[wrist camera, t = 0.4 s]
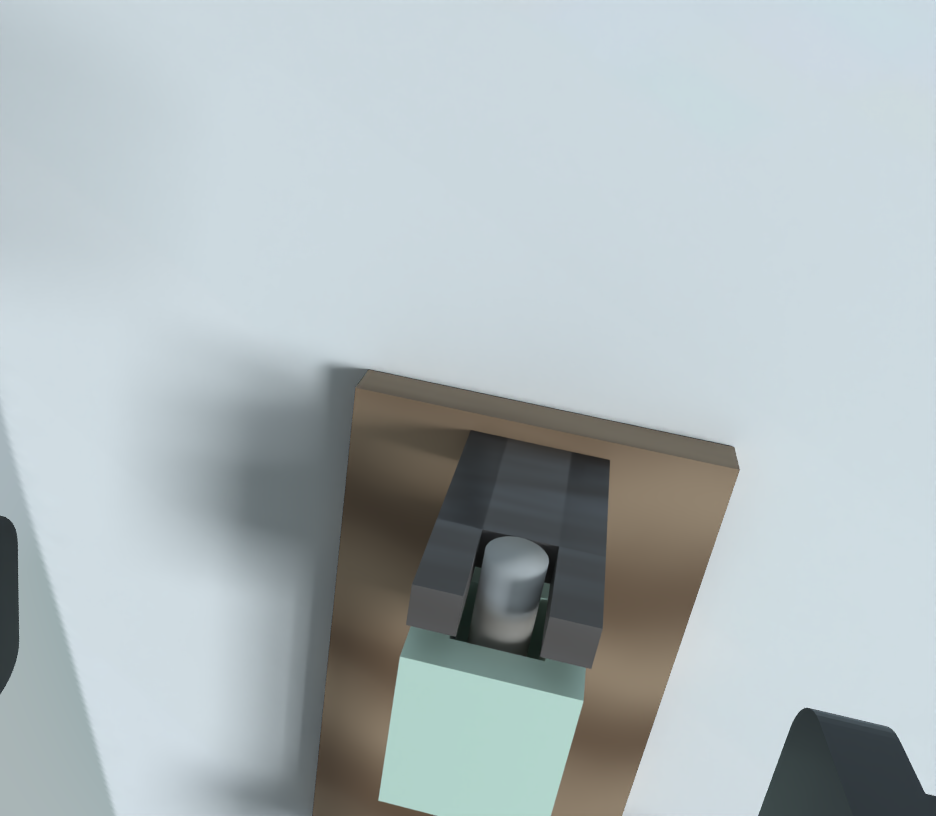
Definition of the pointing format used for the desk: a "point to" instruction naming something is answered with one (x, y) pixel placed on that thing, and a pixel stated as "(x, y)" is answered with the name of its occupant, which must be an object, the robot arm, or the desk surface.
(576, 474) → the rod stand
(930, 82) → the desk surface
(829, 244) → the desk surface
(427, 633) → the sleeve
